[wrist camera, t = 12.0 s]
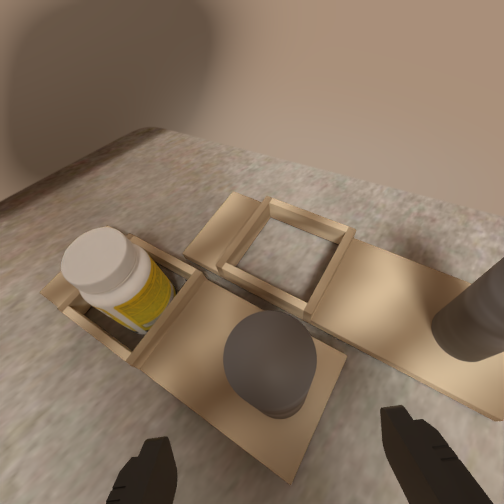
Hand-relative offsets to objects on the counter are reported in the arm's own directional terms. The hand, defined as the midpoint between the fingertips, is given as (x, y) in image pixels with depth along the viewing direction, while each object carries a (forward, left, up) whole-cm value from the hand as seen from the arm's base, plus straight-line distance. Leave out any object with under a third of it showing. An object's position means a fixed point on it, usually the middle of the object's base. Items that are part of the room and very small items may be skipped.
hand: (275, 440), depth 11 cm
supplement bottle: (-13, +2, -9) cm, 16 cm away
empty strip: (-2, +11, -9) cm, 14 cm away
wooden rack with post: (-10, +2, -9) cm, 14 cm away
